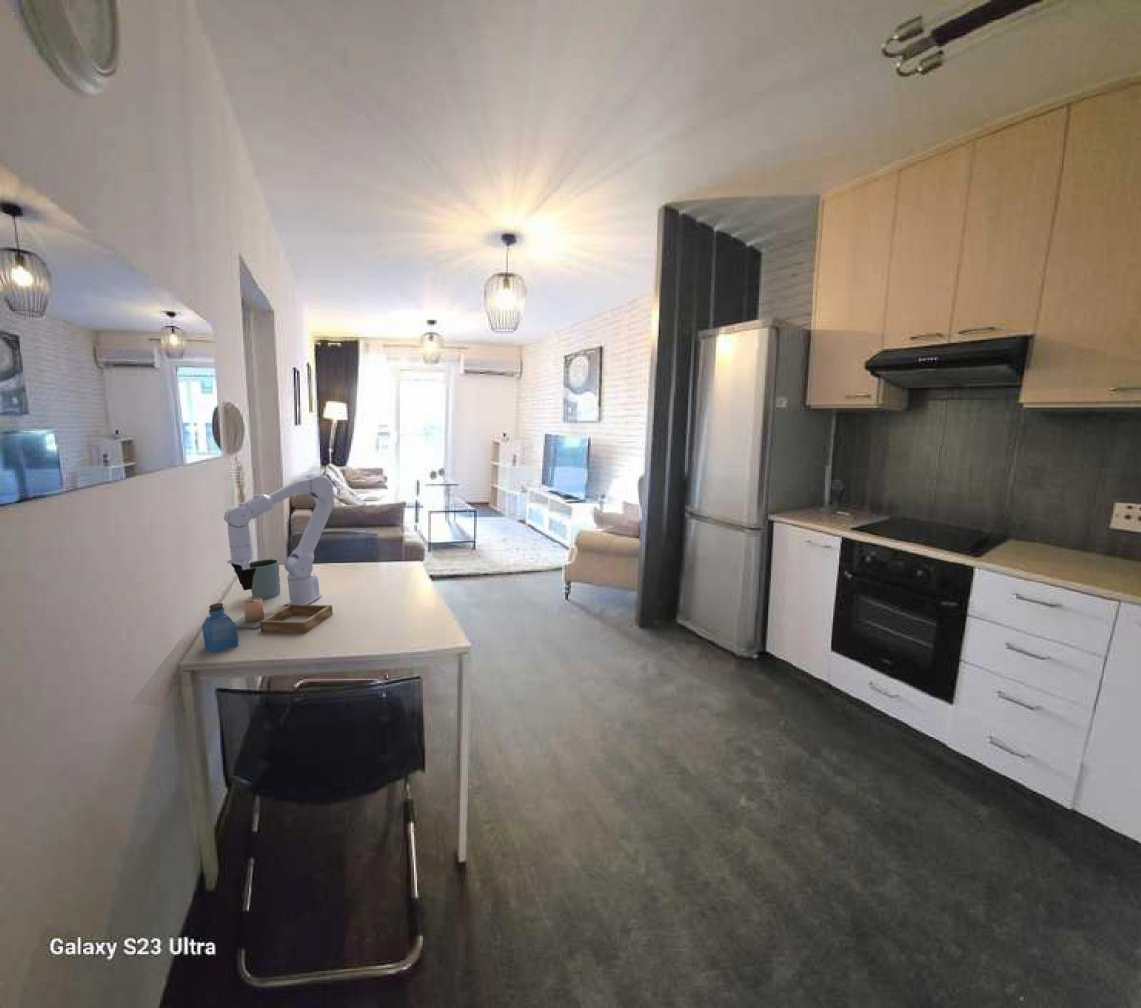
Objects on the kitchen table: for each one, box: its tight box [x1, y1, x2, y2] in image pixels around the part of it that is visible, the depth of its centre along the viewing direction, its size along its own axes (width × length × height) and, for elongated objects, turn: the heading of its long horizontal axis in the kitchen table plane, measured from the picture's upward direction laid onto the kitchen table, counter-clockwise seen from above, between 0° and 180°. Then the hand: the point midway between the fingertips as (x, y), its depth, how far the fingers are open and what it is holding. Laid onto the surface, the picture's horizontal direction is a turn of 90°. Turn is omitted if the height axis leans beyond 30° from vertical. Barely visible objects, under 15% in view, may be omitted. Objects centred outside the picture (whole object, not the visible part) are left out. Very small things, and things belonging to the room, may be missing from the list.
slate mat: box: [233, 612, 275, 630], centre depth 154 cm, size 11×10×1 cm
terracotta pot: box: [242, 597, 265, 622], centre depth 154 cm, size 5×5×6 cm
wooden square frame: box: [259, 604, 334, 634], centre depth 153 cm, size 14×14×3 cm
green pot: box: [250, 558, 281, 600], centre depth 176 cm, size 10×10×12 cm
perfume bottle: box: [201, 602, 239, 654], centre depth 136 cm, size 6×6×12 cm
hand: (246, 586), depth 158 cm, fingers open, 7 cm apart
